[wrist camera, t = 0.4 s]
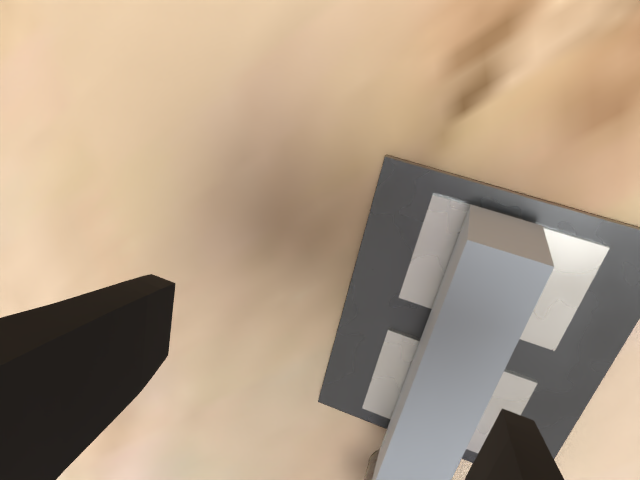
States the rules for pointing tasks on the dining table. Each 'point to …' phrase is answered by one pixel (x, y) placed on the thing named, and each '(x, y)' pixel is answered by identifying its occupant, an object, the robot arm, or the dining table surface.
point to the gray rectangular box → (465, 344)
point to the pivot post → (371, 466)
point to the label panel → (426, 277)
